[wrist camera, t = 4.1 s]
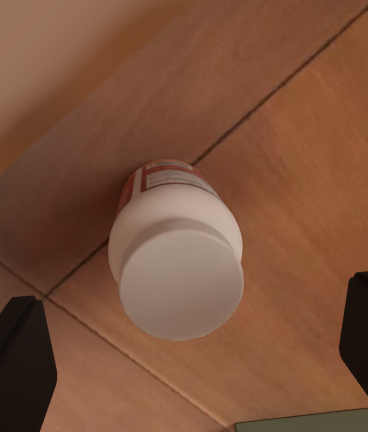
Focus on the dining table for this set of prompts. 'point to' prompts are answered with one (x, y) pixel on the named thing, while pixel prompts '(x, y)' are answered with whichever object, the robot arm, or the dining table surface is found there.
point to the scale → (312, 423)
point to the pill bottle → (175, 252)
